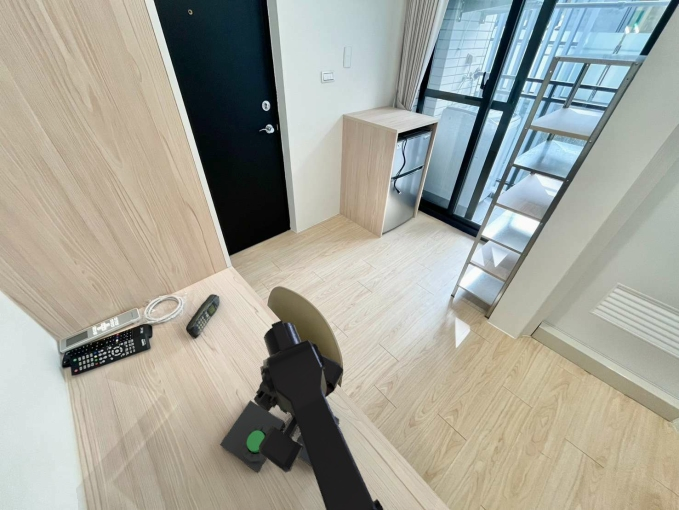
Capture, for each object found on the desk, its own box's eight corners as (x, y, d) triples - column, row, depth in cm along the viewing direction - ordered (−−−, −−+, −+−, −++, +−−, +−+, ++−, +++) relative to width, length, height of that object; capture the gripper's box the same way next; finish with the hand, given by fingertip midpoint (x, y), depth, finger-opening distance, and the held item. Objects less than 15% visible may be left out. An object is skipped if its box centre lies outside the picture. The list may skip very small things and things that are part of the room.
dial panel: (317, 470, 57) (316, 468, 54) (279, 445, 60) (276, 441, 58) (339, 422, 63) (339, 418, 61) (303, 401, 66) (302, 397, 64)
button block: (261, 475, 56) (256, 472, 53) (222, 447, 60) (216, 443, 57) (288, 426, 63) (286, 421, 60) (252, 403, 66) (248, 397, 63)
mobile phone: (191, 331, 75) (219, 289, 85) (182, 329, 75) (211, 287, 85) (198, 340, 78) (224, 298, 88) (189, 337, 79) (216, 296, 89)
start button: (258, 456, 56) (256, 454, 54) (245, 446, 57) (243, 445, 55) (269, 438, 58) (267, 436, 57) (256, 429, 59) (254, 427, 58)
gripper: (294, 325, 52) (302, 360, 63) (222, 421, 41) (246, 443, 52) (345, 352, 48) (344, 384, 59) (280, 467, 37) (294, 480, 48)
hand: (308, 418), depth 55 cm, fingers open, 9 cm apart
